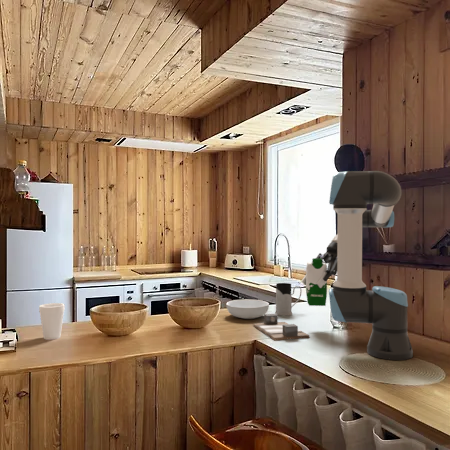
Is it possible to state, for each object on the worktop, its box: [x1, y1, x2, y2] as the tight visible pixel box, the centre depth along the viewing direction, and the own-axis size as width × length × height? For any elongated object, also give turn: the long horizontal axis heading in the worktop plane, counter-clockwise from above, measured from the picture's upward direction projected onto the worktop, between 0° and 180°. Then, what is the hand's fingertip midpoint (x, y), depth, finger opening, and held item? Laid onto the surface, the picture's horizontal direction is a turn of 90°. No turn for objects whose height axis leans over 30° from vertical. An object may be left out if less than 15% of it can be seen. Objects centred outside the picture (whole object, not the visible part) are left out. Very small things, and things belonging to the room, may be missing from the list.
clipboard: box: [252, 313, 310, 341], centre depth 191 cm, size 25×15×5 cm, turn 16°
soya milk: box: [305, 257, 328, 307], centre depth 196 cm, size 9×9×20 cm
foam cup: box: [38, 302, 66, 341], centre depth 180 cm, size 10×9×13 cm
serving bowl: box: [225, 298, 270, 320], centre depth 220 cm, size 21×21×7 cm
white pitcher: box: [274, 282, 302, 316], centre depth 229 cm, size 9×14×15 cm, turn 107°
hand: (310, 284), depth 194 cm, fingers closed on soya milk, 9 cm apart
